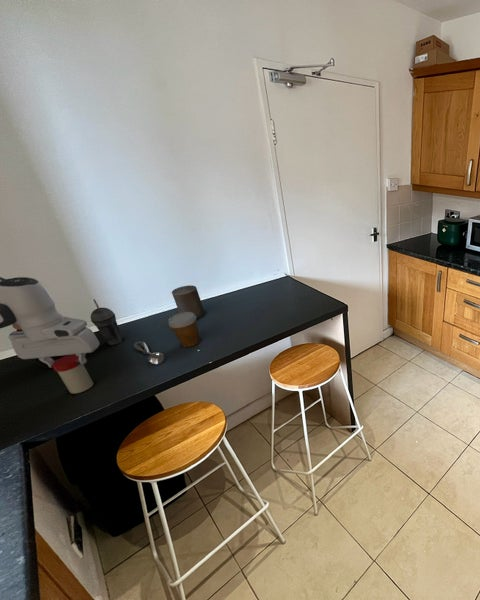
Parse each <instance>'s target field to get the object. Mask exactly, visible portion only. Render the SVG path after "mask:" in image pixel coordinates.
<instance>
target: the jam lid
mask: <svg viewBox="0 0 480 600" xmlns="http://www.w3.org/2000/svg"><path fill="white" fill-rule="evenodd" d="M78 358H79V356H76V354H74V355H68V356H65V357H62V358H60V359H58V360H56V361H55V362H53V363H52V367H53V368H52V369H53V370H54V372H56V373H57V372H62V371H67V370H70V369H72V368H75V367H77V366H78V364H77V362H76V360H77V359H78ZM79 365H80V364H79Z"/></svg>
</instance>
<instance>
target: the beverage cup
mask: <svg viewBox="0 0 480 600" xmlns="http://www.w3.org/2000/svg"><path fill="white" fill-rule="evenodd" d="M93 303H94V304H95V306H96V308H95V309H94V310H93V311H92V312H91V314H90V321H91V323H92V324H93V325H94V326H95V327H96V328H97V330H98V331H99V333H100V334H101V336H102V337H103V339H104V340H105V342H106V343H107V344H108V345H109V346H115V345H118V344H120V343H121V342H122V341H123V337H122V333H121V331H120V328H119V325H118V322H117V316H116V314H115V313H114V311H113V310H112V309H110V308H107V307H100V306H99V304H98V302H97V301H96V299H93Z"/></svg>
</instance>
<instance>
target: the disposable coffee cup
mask: <svg viewBox="0 0 480 600" xmlns="http://www.w3.org/2000/svg"><path fill="white" fill-rule="evenodd" d="M196 318H197V317H196V315H194V313H191V312H184V313H179V312H178V313H176V314H174V315H172V316H171V317H169V318H168V323H167V325H168V326H169V327H170V328H171V330H172V331H173V333H174V335H175V337H176V338H177V340H178V341H179V343H180V345H181V346H182V347H183V348H190V347H194V346H196V345H197V344H199V343H200V341H201V340H200V335H199V328H198V324H197V323H198V322H197V319H196Z"/></svg>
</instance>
